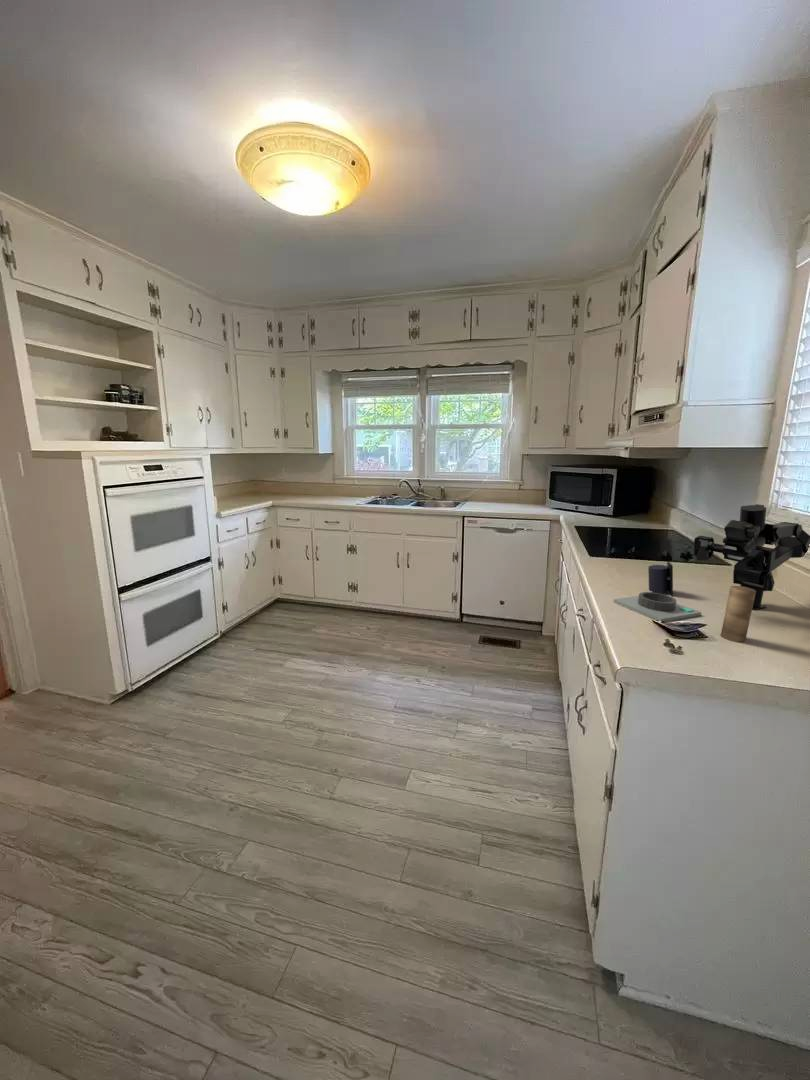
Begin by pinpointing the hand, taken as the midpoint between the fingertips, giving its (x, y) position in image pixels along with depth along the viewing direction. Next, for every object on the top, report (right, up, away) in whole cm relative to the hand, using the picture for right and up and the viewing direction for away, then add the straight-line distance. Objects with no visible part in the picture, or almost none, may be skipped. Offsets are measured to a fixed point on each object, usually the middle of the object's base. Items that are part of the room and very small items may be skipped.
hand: (715, 562), depth 116 cm
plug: (-1, -19, -8) cm, 20 cm away
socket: (-10, -14, +11) cm, 20 cm away
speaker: (0, -11, +26) cm, 29 cm away
